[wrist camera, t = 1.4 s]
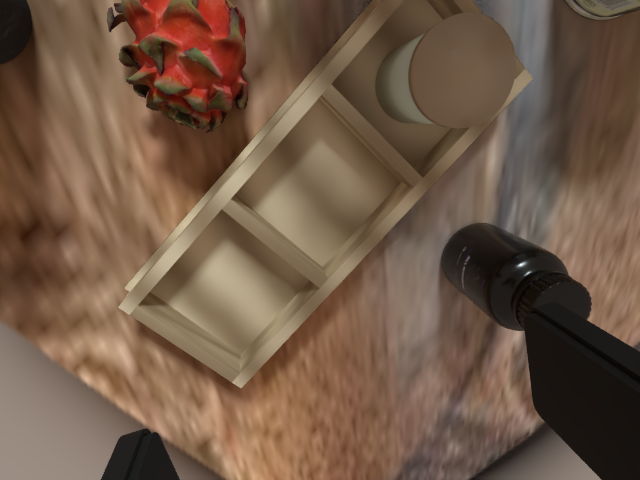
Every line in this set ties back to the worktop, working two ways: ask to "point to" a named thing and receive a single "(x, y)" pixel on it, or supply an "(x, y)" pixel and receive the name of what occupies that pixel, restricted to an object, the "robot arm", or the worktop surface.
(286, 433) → the worktop surface
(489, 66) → the canister
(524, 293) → the supplement bottle
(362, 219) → the rack
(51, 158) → the worktop surface
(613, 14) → the coffee can
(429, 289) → the worktop surface
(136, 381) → the worktop surface
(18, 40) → the travel mug
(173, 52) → the dragon fruit
